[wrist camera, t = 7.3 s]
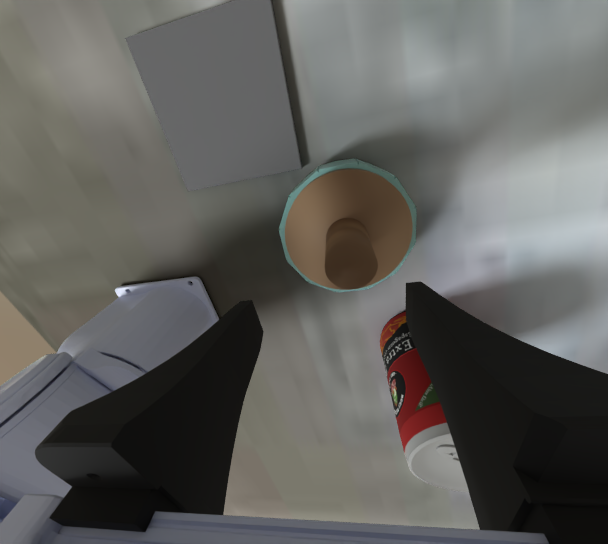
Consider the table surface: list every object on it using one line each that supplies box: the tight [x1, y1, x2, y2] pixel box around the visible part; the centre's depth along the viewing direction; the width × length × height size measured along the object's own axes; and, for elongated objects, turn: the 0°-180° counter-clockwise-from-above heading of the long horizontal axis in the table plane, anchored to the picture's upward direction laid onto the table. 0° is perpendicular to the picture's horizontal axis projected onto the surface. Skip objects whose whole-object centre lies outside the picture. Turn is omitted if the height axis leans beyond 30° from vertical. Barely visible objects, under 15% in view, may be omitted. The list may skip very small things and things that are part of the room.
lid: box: [285, 168, 413, 290], centre depth 14 cm, size 8×8×5 cm
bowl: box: [279, 158, 417, 292], centre depth 18 cm, size 9×9×3 cm
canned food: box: [380, 312, 469, 492], centre depth 20 cm, size 8×8×11 cm
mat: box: [125, 0, 302, 191], centre depth 16 cm, size 9×9×1 cm
